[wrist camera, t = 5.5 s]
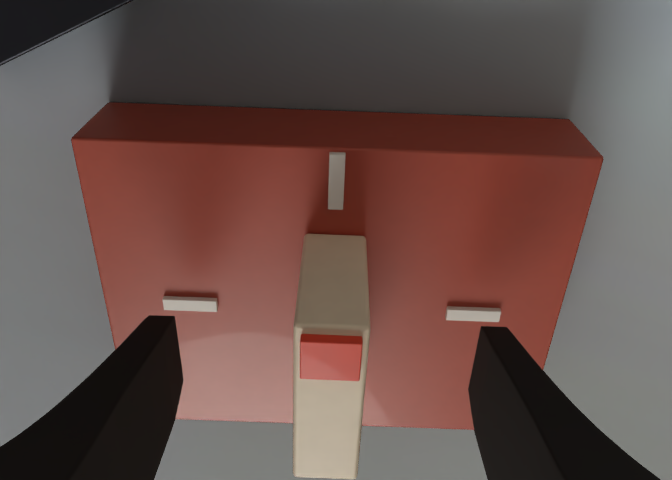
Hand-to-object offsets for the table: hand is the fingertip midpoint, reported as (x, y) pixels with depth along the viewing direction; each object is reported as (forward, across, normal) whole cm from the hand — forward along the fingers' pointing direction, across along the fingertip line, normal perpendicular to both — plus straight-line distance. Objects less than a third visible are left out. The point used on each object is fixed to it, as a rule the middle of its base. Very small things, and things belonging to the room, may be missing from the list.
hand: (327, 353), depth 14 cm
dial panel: (+4, 0, 0) cm, 4 cm away
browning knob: (+2, 0, 0) cm, 2 cm away
